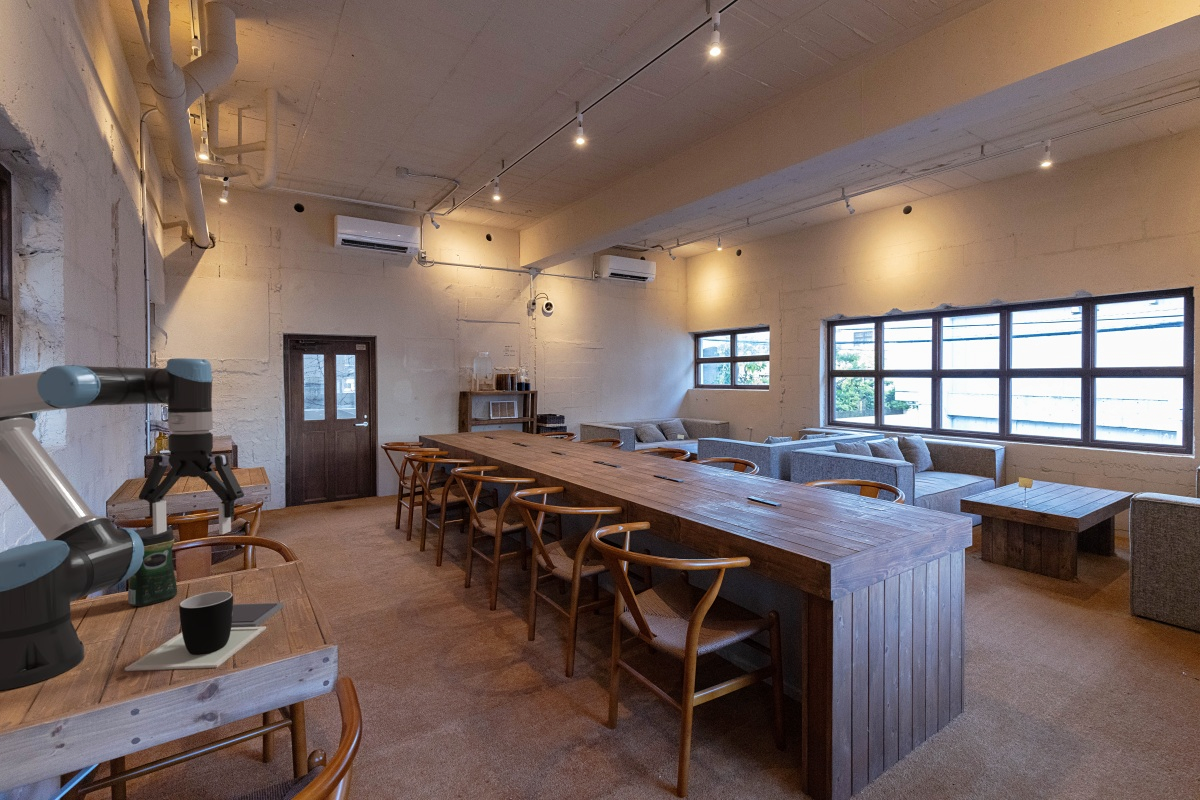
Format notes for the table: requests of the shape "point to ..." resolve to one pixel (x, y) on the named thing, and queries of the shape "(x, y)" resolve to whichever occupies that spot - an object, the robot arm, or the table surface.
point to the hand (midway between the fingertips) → (192, 532)
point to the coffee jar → (154, 569)
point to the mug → (206, 621)
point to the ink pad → (253, 613)
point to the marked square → (179, 657)
